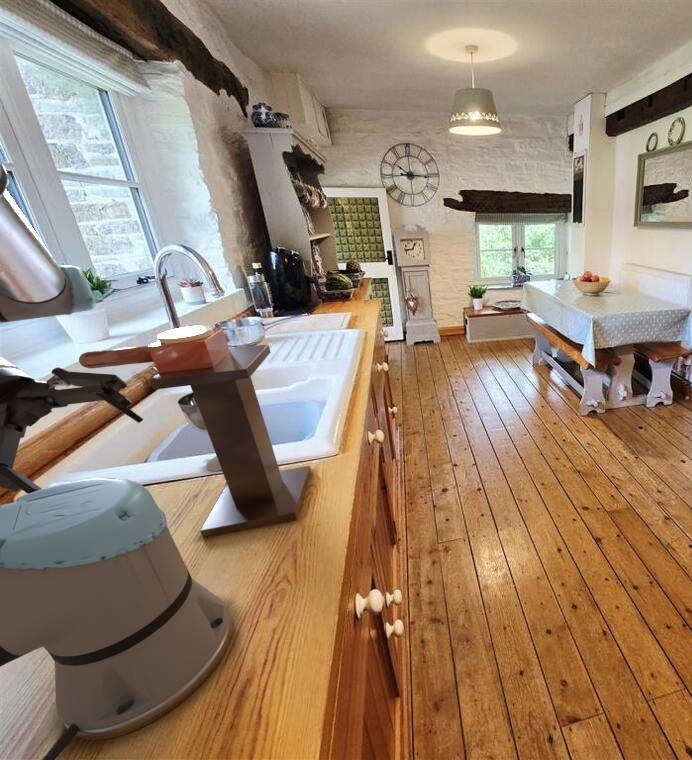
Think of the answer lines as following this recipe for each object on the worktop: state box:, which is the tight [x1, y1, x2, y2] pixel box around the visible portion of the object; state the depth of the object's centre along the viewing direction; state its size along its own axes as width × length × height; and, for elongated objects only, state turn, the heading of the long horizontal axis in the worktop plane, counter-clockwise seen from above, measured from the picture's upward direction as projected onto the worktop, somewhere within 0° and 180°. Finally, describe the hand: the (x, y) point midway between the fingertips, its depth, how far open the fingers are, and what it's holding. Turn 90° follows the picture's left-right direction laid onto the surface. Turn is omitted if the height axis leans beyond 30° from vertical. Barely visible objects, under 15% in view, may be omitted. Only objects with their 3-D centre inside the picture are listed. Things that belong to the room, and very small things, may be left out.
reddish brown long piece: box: [78, 325, 230, 374], centre depth 60 cm, size 17×7×5 cm, turn 105°
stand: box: [149, 343, 312, 539], centre depth 68 cm, size 14×14×27 cm
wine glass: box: [177, 392, 222, 472], centre depth 83 cm, size 8×8×15 cm
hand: (90, 453), depth 58 cm, fingers open, 13 cm apart
